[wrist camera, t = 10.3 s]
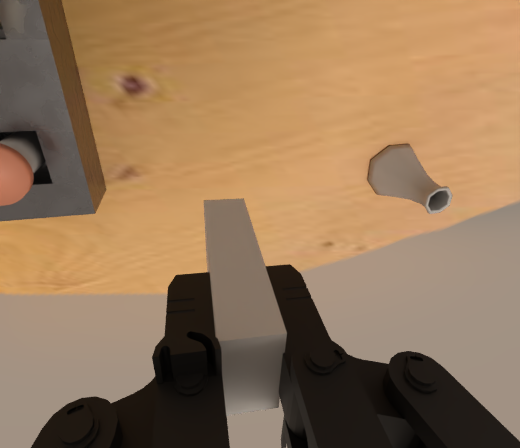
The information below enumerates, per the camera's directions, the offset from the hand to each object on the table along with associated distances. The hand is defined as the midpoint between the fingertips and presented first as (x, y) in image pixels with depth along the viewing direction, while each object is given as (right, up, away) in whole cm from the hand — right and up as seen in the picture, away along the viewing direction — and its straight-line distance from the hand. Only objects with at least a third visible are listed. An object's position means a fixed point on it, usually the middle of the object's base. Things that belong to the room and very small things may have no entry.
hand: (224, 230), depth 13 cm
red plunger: (-21, +8, +20) cm, 30 cm away
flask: (+19, +8, +33) cm, 39 cm away
